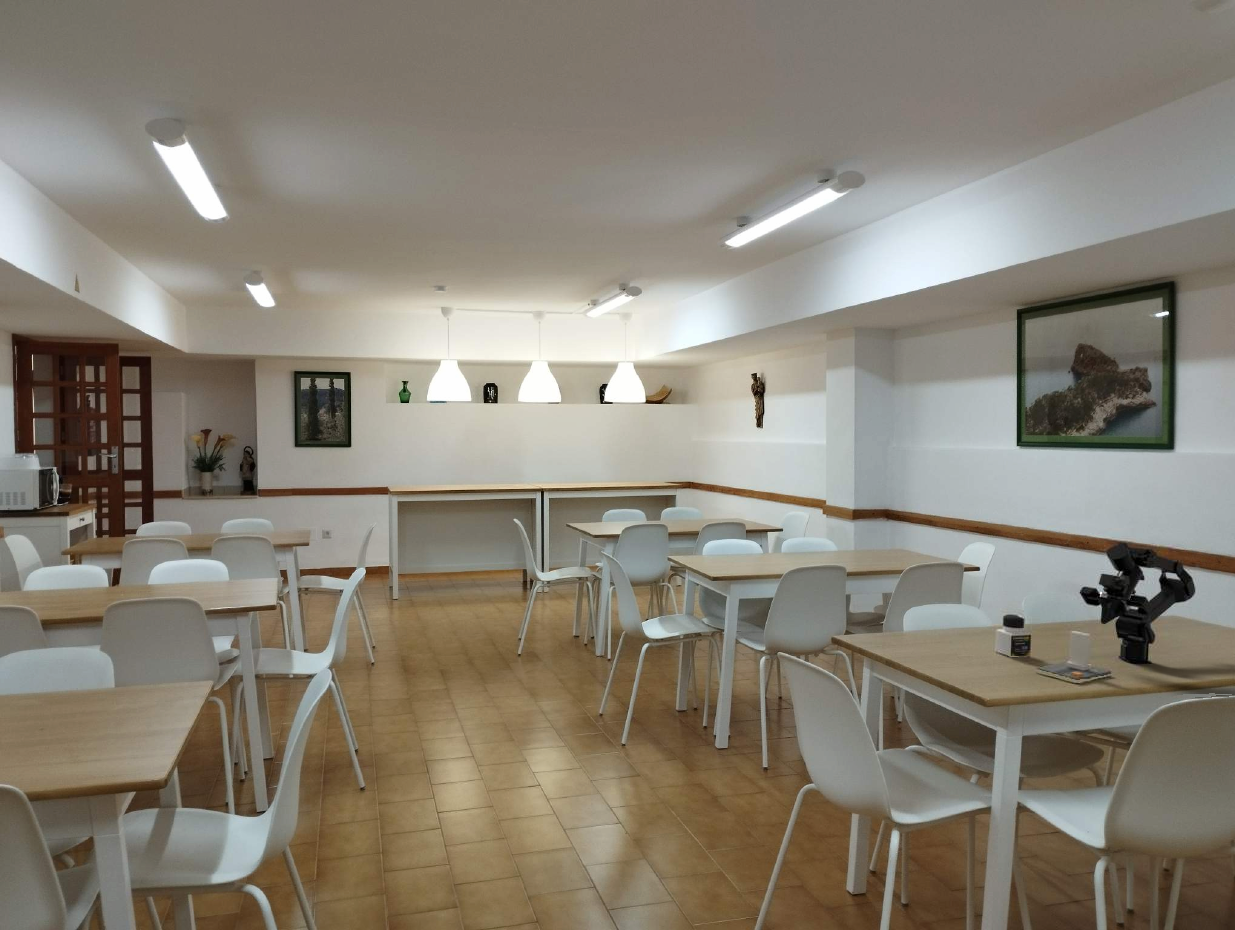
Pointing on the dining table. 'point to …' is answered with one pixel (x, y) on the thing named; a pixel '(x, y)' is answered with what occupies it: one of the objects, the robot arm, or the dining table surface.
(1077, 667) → the tab
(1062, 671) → the switch panel
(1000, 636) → the medicine bottle
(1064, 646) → the dining table surface
